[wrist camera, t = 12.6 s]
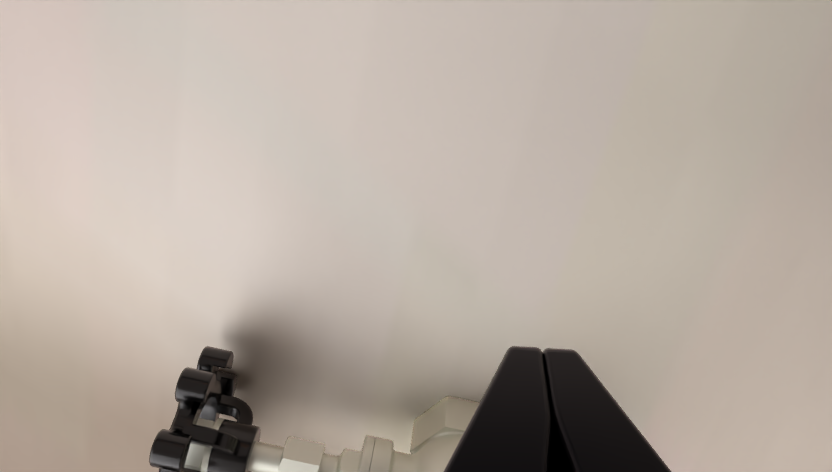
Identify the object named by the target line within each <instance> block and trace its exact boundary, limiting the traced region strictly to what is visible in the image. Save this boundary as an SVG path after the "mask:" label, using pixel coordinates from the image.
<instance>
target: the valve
mask: <svg viewBox="0 0 832 472" xmlns="http://www.w3.org/2000/svg"><path fill="white" fill-rule="evenodd" d="M233 358H234V354H233V352H232V351H227V350H223V349H218V348H214V347H209V346H207V347H205V348H204V349H203V351H202V353H201V355H200V358H199V361H198V365H197V369H194V368H189V367H187V368H185V369H184V370H183V371H182V373H181V375H180V377H179V379H178V382H177V386H176V391H175V399H176V401H177V402H179V404H178V409H177V412H176V415H175V418H174V420H173V423H172V425H171V428H170V429H169V430H166V429H162V430H161V431H160V432H159V433H158V434H157V436H156V438H155V440H154V442H153V445H152V448H151V452H150V458H149V462H150V465H151V466H152V467H157V468H159V472H251V471H253V472H443V471H444V469H445V468H446V466H447V464H448V462H449V460H450V458H451V456H452V454H453V452H454V451H455V449H456V447H457V445H458V443H459V441H460V439H461V437H462V435H463V434H464V432H465V430H466V428H467V426H468V424H469V422H470V420H471V418H472V416H473V415H474V413H475V411H476V409H477V407H478V405H479V402H475V401H470V400H465V399H461V398H456V397H452V396H447V397H445V398H443V399H442V400H441V401H439V402H438V403H437V404H435V405H434V406H433V407H431V408H430V409H428V410H427V411H426V412H424V413H423V414H422V415H420V416H419V417H418V418H416V419H415V420H414V424H413V432H412V440H411V447H410V452H411V454H407V453H402V452H397V451H395V450H394V449H393V441H392V440H388V439H383V438H379V437H374V436H370V435H366V437H365V440H364V444H363V448H362V451H356V450H352V449H347V448H345V449H344V450H343V452H342V454H341V455H339V456H334V455H330V454H325V453H324V451H325V444H324V443H319V442H315V441H310V440H305V439H301V438H296V437H292V436H290V437H288V439H287V441H286V443H285V446H284V447H281V446H276V445H271V444H267V443H262V442H259V440H260V427H258V426H254V425H252V424H253V414H252V411H251V409H250V407H249V406H248V405H247V404H246V403H245V402H244V401H243V400H241V399H239V398H236V397H233V396H234V393H235V390H236V385H237V375H235V374H230V373H225V372H221V371H218V369H219V367H221V368H228V369H231V368H232V364H233ZM219 414H225V415H229V416H232V417H234V418H236V419H237V422H235V421H231V420H226V419H222V418H219Z"/></svg>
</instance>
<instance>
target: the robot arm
mask: <svg viewBox="0 0 832 472" xmlns="http://www.w3.org/2000/svg"><path fill="white" fill-rule="evenodd" d="M443 472H671V471H670V469H669V468H668V467H667V466H666V464H665V463H664V462H663V461H662V459H661V458H660V457H659V455H658V454H657V453H656V452H655V450H654V449H653V448H652V447H651V445H650V444H649V443H648V442H647V440H646V439H645V438H644V436H643V435H642V434H641V433H640V431H639V430H638V429H637V428H636V426H635V425H634V424H633V422H632V421H631V420H630V419H629V417H628V416H627V415H626V414H625V412H624V411H623V410H622V409H621V407H620V406H619V405H618V403H617V402H616V401H615V400H614V398H613V397H612V396H611V395H610V393H609V392H608V391H607V389H606V388H605V387H604V386H603V384H602V383H601V382H600V381H599V379H598V378H597V377H596V376H595V374H594V373H593V372H592V370H591V369H590V368H589V367H588V365H587V364H586V363H585V362H584V360H583V359H582V358H581V356H580V355H579V354H578V353H577V352H576V351H574V350H569V349H552V348H547V349H545V350H544V351H543V352H542V351H541V350H540V349H539V348H535V347H519V346H512V347H510V348H509V349H508V350H507V352H506V354H505V356H504V358H503V360H502V362H501V363H500V365H499V367H498V369H497V371H496V373H495V375H494V377H493V379H492V381H491V382H490V384H489V386H488V388H487V390H486V392H485V394H484V396H483V398H482V399H481V401H480V403H479V405H478V407H477V409H476V411H475V413H474V415H473V416H472V418H471V420H470V422H469V424H468V426H467V428H466V430H465V432H464V434H463V435H462V437H461V439H460V441H459V443H458V445H457V447H456V449H455V451H454V452H453V454H452V456H451V458H450V460H449V462H448V464H447V466H446V468H445V469H444V471H443Z"/></svg>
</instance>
